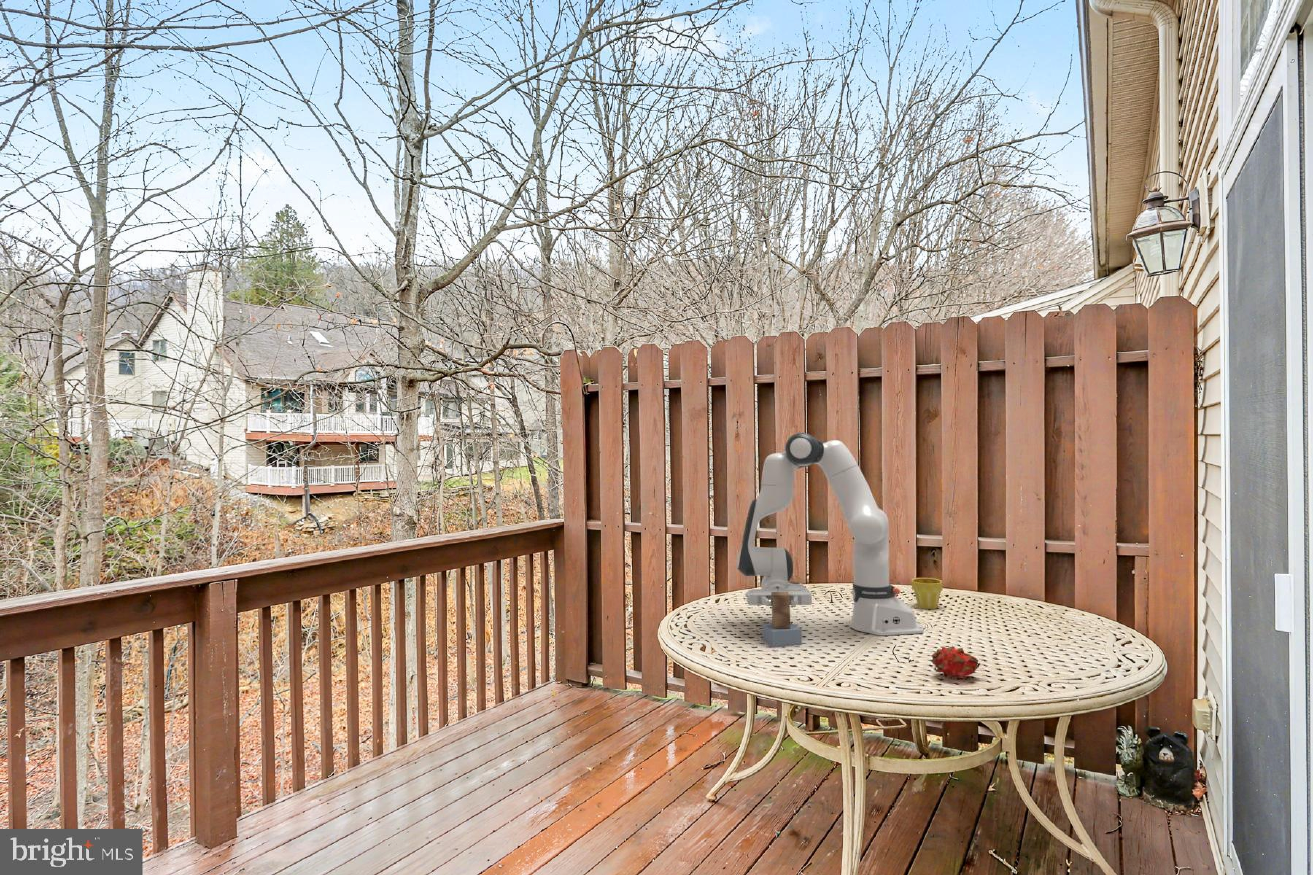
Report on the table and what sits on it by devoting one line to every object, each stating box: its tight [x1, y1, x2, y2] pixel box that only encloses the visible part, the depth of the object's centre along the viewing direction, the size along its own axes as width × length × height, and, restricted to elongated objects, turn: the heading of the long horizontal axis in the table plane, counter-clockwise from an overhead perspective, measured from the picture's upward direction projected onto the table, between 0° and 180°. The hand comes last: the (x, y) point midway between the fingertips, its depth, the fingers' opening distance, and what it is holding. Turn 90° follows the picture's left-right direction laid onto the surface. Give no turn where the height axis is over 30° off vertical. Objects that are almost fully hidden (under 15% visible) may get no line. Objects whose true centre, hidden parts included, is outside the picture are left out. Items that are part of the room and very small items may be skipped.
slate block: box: [761, 621, 803, 648], centre depth 197 cm, size 9×9×5 cm
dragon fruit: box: [931, 645, 981, 681], centre depth 164 cm, size 8×8×12 cm
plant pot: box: [911, 577, 943, 610], centre depth 234 cm, size 10×10×10 cm
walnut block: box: [771, 592, 791, 628], centre depth 197 cm, size 5×5×10 cm
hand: (781, 603), depth 196 cm, fingers open, 6 cm apart
